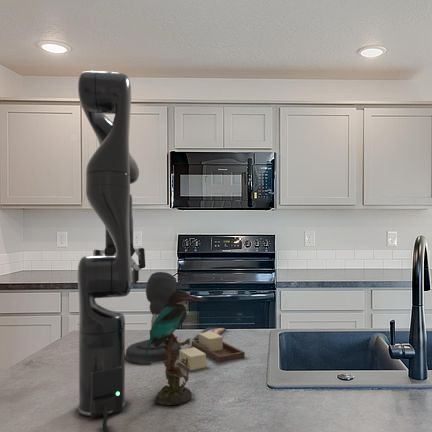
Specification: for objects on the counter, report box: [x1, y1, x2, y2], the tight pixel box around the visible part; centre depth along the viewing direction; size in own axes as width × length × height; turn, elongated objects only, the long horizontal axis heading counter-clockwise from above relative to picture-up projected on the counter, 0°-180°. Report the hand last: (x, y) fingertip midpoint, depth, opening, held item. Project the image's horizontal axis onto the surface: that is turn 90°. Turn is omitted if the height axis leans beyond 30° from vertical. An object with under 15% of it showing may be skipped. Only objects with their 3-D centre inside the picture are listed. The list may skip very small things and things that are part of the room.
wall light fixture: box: [125, 271, 182, 365], centre depth 138 cm, size 16×25×20 cm
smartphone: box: [193, 327, 227, 341], centre depth 157 cm, size 8×1×15 cm
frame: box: [191, 340, 246, 363], centre depth 137 cm, size 20×8×2 cm, turn 35°
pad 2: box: [198, 331, 224, 351], centre depth 141 cm, size 8×4×4 cm, turn 35°
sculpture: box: [143, 289, 205, 406], centre depth 103 cm, size 8×14×25 cm, turn 86°
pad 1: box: [178, 346, 207, 371], centre depth 125 cm, size 8×4×4 cm, turn 35°
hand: (119, 284), depth 130 cm, fingers open, 8 cm apart
